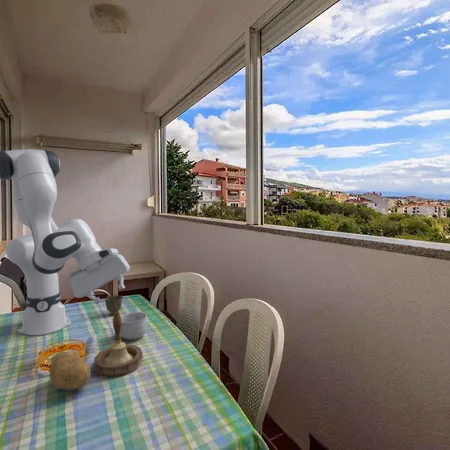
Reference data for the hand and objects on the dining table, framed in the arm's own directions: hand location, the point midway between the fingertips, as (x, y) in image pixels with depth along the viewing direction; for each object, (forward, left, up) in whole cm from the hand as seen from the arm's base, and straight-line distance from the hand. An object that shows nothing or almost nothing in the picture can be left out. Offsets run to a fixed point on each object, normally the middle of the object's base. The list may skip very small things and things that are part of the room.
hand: (110, 295), depth 104 cm
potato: (+18, -12, -19) cm, 29 cm away
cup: (-35, +4, -19) cm, 40 cm away
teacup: (-8, +9, -19) cm, 22 cm away
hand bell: (+13, +1, -18) cm, 22 cm away
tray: (+12, +1, -19) cm, 22 cm away
